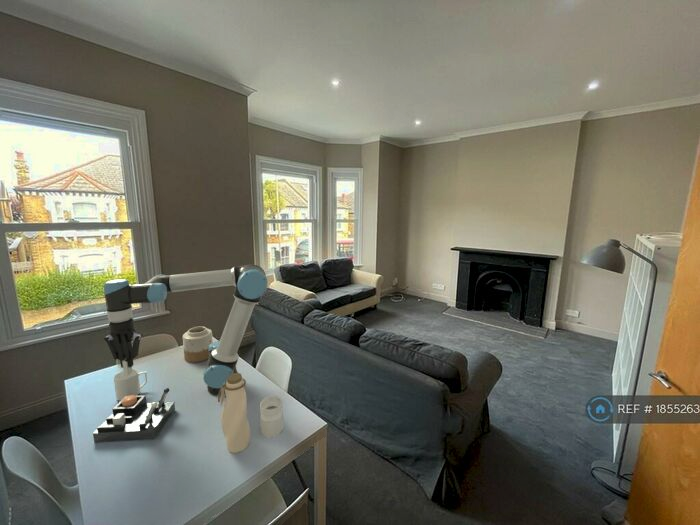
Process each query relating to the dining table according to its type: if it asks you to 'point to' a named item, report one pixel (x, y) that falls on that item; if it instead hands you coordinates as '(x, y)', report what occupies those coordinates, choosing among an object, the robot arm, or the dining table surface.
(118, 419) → the slider
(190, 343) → the vase
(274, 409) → the cream cylinder
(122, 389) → the mug
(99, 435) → the panel
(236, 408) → the water bottle
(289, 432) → the dining table surface
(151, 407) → the lever
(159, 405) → the lever
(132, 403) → the button
